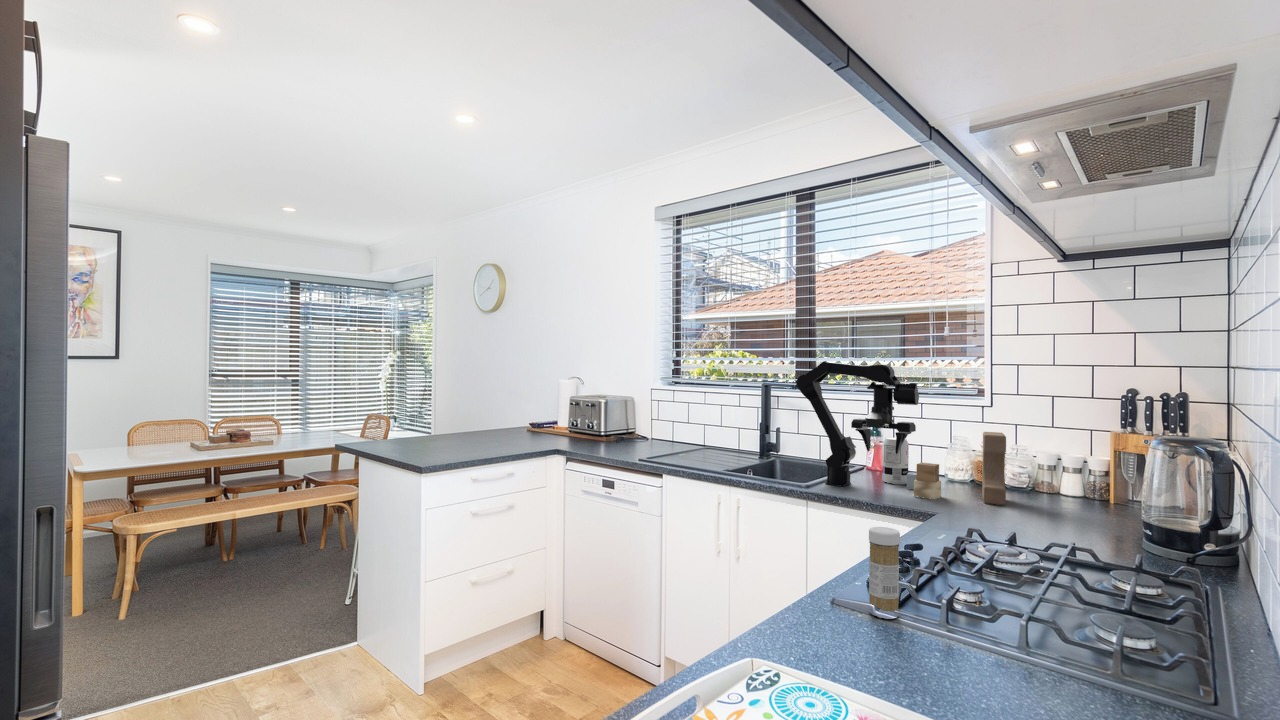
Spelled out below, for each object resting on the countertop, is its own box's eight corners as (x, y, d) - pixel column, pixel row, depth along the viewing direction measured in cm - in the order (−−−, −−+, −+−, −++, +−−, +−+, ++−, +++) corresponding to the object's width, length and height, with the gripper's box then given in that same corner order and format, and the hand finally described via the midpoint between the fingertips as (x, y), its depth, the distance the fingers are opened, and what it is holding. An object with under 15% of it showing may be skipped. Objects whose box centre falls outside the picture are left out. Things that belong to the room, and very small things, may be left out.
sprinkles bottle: (896, 611, 99) (897, 526, 99) (901, 622, 94) (902, 534, 94) (866, 608, 100) (867, 524, 100) (870, 619, 95) (871, 532, 95)
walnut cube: (921, 478, 192) (922, 462, 192) (939, 480, 188) (939, 464, 188) (916, 480, 188) (916, 464, 188) (933, 482, 185) (934, 466, 185)
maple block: (913, 496, 188) (913, 480, 188) (920, 494, 192) (920, 478, 192) (934, 500, 184) (934, 483, 184) (940, 497, 188) (941, 480, 188)
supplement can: (877, 480, 214) (878, 437, 214) (900, 480, 215) (900, 437, 215) (889, 484, 206) (890, 440, 206) (913, 484, 207) (913, 440, 207)
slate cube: (906, 489, 199) (907, 474, 199) (908, 487, 204) (908, 471, 204) (923, 491, 197) (924, 475, 197) (924, 488, 201) (925, 473, 201)
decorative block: (1005, 506, 177) (1006, 436, 177) (982, 503, 179) (983, 434, 179) (1003, 498, 186) (1004, 432, 187) (982, 496, 189) (982, 431, 189)
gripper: (844, 403, 199) (843, 451, 198) (903, 406, 186) (902, 458, 186) (859, 401, 207) (858, 448, 206) (916, 404, 194) (916, 454, 194)
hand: (882, 452), depth 198 cm, fingers open, 9 cm apart
